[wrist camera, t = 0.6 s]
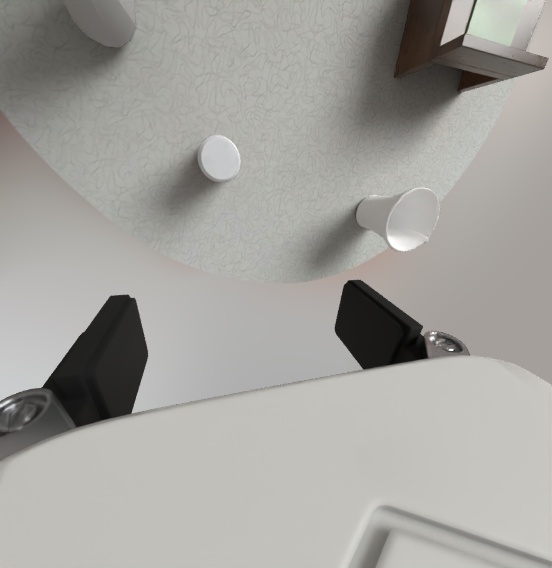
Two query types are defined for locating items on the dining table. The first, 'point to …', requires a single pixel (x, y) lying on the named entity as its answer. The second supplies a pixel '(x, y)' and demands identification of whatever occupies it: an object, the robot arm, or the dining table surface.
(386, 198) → the cup
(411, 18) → the shelf
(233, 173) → the pill bottle
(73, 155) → the dining table surface
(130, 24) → the salt shaker
